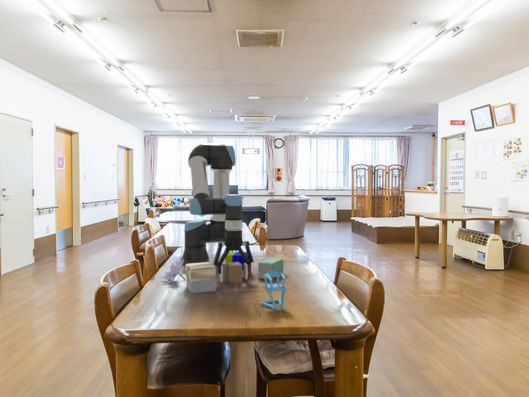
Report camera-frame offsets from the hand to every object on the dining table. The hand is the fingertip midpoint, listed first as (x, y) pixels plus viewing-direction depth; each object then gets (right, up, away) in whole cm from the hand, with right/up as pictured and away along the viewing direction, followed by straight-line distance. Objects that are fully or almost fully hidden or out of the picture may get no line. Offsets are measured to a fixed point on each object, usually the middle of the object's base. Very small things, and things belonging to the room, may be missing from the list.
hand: (233, 279), depth 166 cm
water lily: (-27, -1, +2) cm, 27 cm away
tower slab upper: (-13, +3, -11) cm, 17 cm away
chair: (+17, -2, -33) cm, 37 cm away
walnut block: (0, -1, 0) cm, 1 cm away
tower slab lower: (-12, -2, -11) cm, 17 cm away
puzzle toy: (+1, -1, +13) cm, 13 cm away
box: (+17, -1, +11) cm, 20 cm away
